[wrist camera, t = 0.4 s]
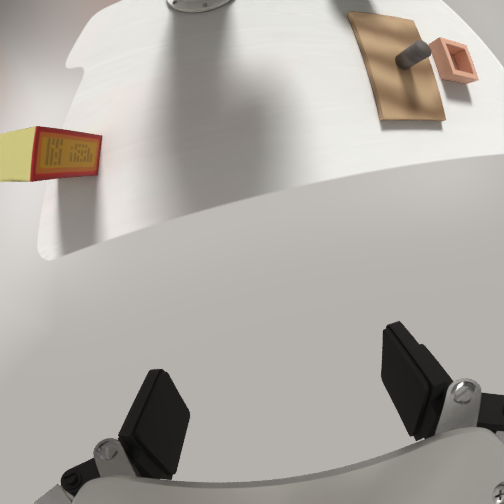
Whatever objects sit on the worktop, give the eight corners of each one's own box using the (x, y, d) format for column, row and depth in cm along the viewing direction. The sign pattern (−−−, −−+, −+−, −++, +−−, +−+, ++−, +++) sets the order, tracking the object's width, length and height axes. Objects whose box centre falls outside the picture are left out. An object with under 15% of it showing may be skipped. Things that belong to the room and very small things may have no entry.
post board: (347, 15, 29) (362, -10, 21) (409, 23, 28) (431, 5, 20) (380, 120, 34) (406, 110, 26) (441, 121, 33) (471, 115, 25)
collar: (428, 44, 29) (439, 37, 25) (455, 50, 28) (466, 45, 25) (440, 78, 31) (453, 73, 27) (466, 83, 30) (478, 80, 27)
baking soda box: (58, 174, 37) (-8, 182, 22) (61, 138, 35) (-4, 134, 20) (97, 175, 37) (30, 181, 22) (102, 135, 36) (35, 125, 20)
